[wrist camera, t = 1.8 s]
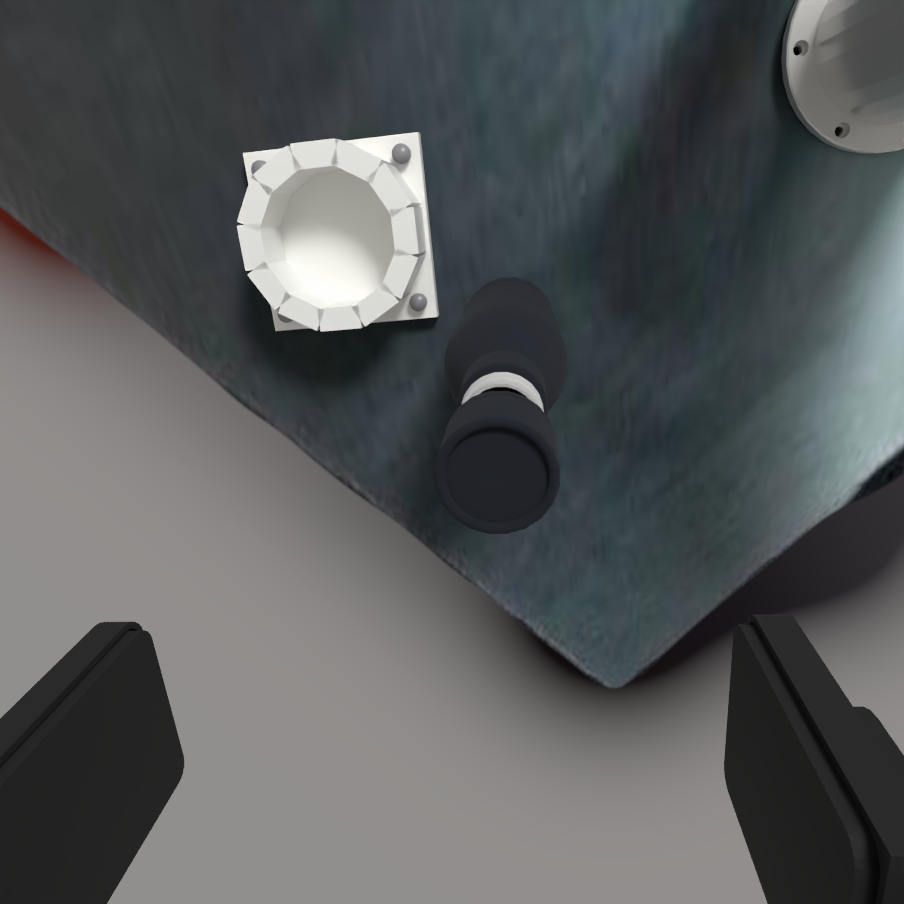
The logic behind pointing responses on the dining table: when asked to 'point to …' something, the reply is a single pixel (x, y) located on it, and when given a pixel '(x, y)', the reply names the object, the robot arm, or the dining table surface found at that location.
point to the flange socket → (339, 232)
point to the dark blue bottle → (502, 410)
